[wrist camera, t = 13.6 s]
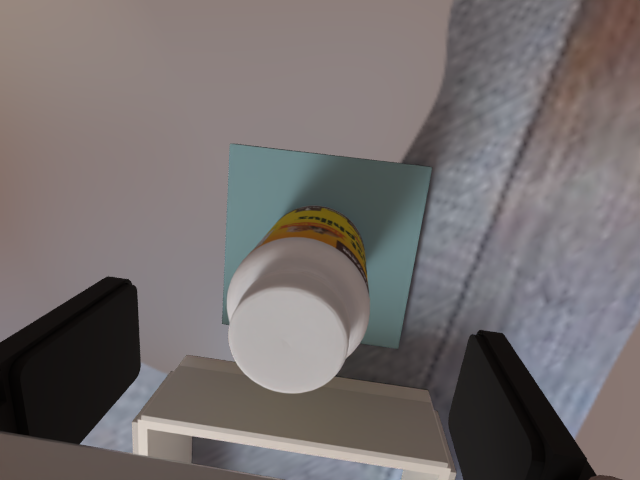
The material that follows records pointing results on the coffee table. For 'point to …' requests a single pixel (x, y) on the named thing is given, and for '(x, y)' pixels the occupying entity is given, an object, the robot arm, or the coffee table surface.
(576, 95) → the coffee table surface
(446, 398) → the coffee table surface
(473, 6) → the coffee table surface
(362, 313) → the supplement bottle
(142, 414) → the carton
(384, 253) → the mat
